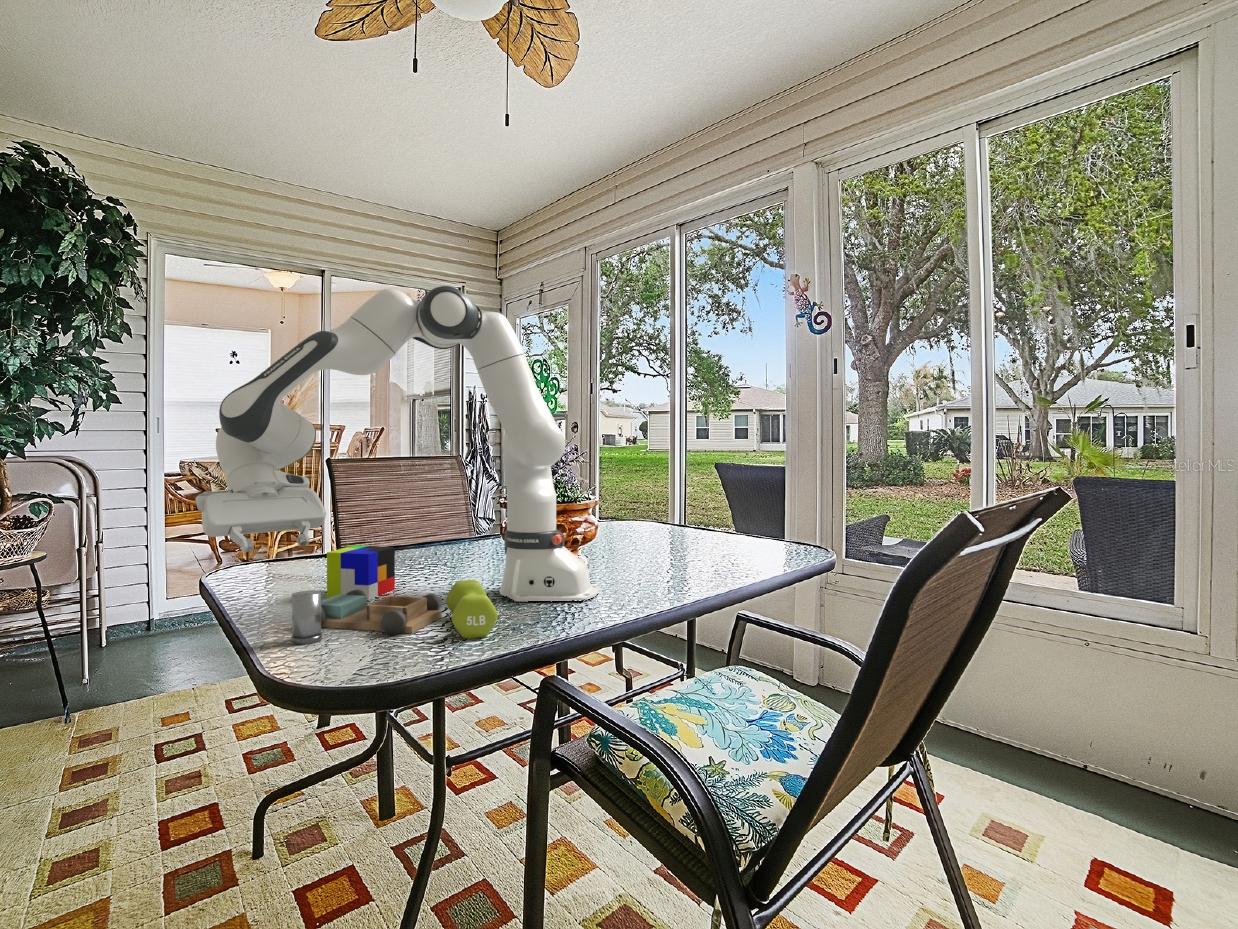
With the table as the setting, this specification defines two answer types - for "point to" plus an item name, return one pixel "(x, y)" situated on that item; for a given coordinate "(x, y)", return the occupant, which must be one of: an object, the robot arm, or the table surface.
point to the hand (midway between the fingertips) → (277, 546)
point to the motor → (306, 617)
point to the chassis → (380, 612)
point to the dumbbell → (471, 609)
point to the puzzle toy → (361, 570)
